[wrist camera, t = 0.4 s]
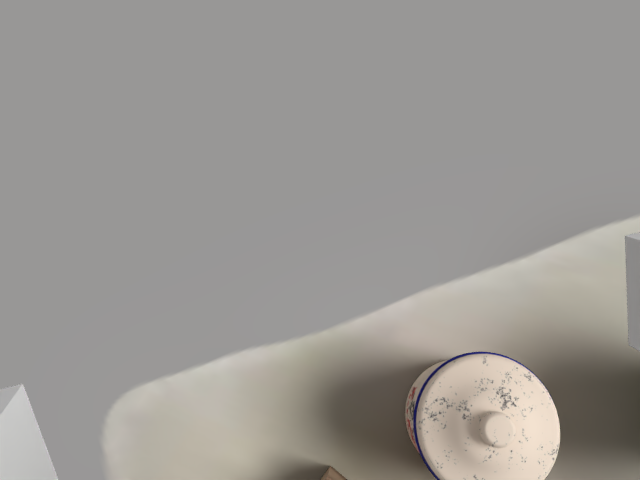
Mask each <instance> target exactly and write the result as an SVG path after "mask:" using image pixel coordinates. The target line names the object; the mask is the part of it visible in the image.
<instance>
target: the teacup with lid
mask: <svg viewBox="0 0 640 480" xmlns="http://www.w3.org/2000/svg"><path fill="white" fill-rule="evenodd" d="M405 420H406V426H407V430H408V434H409V436H410V439H411V441H412V443H413V445H414V446H415V448H416V449H417V451H418V452H419V453H420V455H421V457H422V459H423V461H424V463H425V464H426V466H427V468H428V469H429V470H430V472H431V473H432V474H433V475H434V477H435V478H436V479H437V480H544V479H545V478H546V477H547V475H548V474H549V472H550V471H551V469H552V467H553V465H554V463H555V460H556V457H557V454H558V450H559V444H560V424H559V418H558V414H557V410H556V407H555V404H554V402H553V400H552V398H551V396H550V394H549V392H548V390H547V389H546V387H545V386H544V385H543V383H542V382H541V381H540V380H539V378H538V377H537V376H536V375H535V374H534V373H533V372H531V371H530V370H529V369H528V368H527V367H525V366H524V365H522V364H521V363H519V362H517V361H515V360H513V359H511V358H509V357H506V356H503V355H500V354H496V353H490V352H472V353H466V354H462V355H459V356H456V357H454V358H452V359H450V360H446V361H442V362H439V363H437V364H434V365H433V366H431V367H429V368H428V369H426V370H425V371H424V372H423V373H422V374H421V375H420V376H419V377H418V378H417V379H416V381H415V382H414V384H413V385H412V387H411V389H410V391H409V394H408V397H407V401H406V407H405Z"/></svg>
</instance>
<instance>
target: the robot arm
mask: <svg viewBox="0 0 640 480" xmlns="http://www.w3.org/2000/svg"><path fill="white" fill-rule="evenodd" d="M625 252H626V282H627V312H628V341H629V346H631V347H633V348H635V349H636V350H638V351H640V232H638V233H634V234H630V235H626V236H625ZM0 480H58V477H57V475H56V472H55V469H54V466H53V464H52V461H51V458H50V456H49V453H48V450H47V448H46V445H45V442H44V440H43V437H42V434H41V431H40V429H39V426H38V424H37V421H36V418H35V415H34V413H33V410H32V407H31V405H30V402H29V399H28V397H27V394H26V391H25V388H24V386H23V384H20V385H15V386H11V387H8V388H3V389H0Z"/></svg>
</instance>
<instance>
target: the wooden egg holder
mask: <svg viewBox="0 0 640 480" xmlns="http://www.w3.org/2000/svg"><path fill="white" fill-rule="evenodd" d="M320 480H347V479H346V478H344V477H343V476H342V475H341V474H340V473H339V472H337V471H336V470H335V469H334V468H333V467H331V466H330V467H329V468H328V469H327V471H326V472H325V474H324V475H323V476H322V478H321V479H320Z"/></svg>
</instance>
